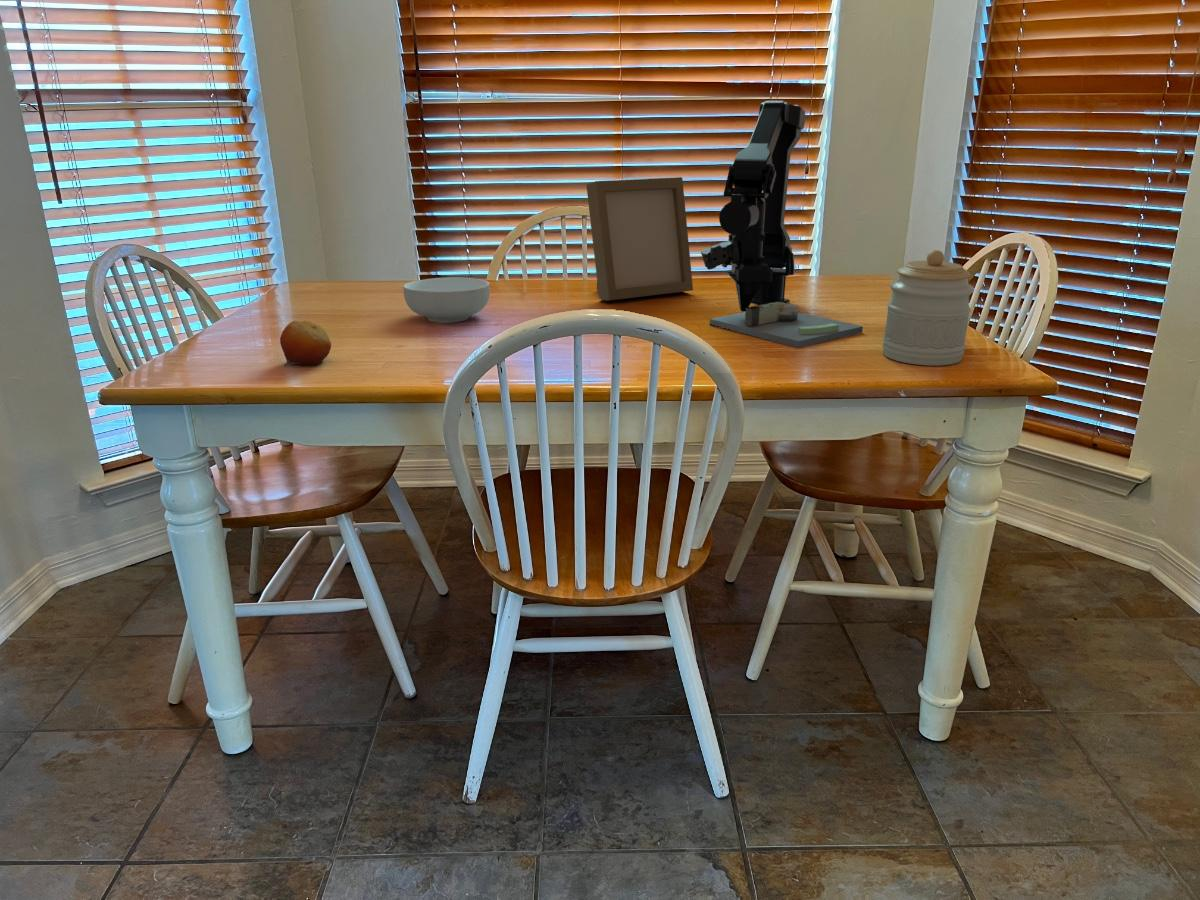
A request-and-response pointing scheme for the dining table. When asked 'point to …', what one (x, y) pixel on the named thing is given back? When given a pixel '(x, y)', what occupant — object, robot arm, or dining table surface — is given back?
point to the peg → (771, 313)
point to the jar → (928, 312)
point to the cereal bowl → (447, 298)
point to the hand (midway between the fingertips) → (743, 311)
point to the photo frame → (639, 237)
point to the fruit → (304, 343)
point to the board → (791, 329)
